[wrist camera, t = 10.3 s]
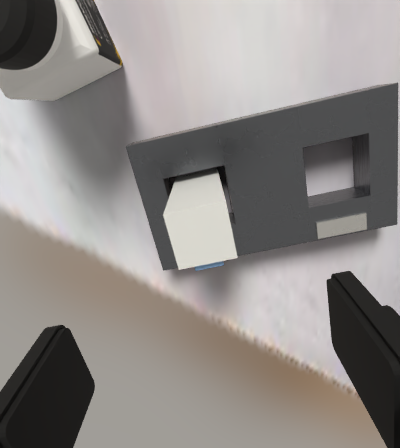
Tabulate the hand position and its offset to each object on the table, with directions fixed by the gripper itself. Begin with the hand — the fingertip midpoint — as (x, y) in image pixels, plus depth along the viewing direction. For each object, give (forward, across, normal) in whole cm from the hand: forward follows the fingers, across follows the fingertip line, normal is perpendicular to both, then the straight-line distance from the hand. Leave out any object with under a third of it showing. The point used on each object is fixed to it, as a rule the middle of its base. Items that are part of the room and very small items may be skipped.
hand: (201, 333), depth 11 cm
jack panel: (+20, -6, 0) cm, 21 cm away
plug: (+20, 0, 0) cm, 20 cm away
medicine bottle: (+20, +8, -15) cm, 26 cm away
